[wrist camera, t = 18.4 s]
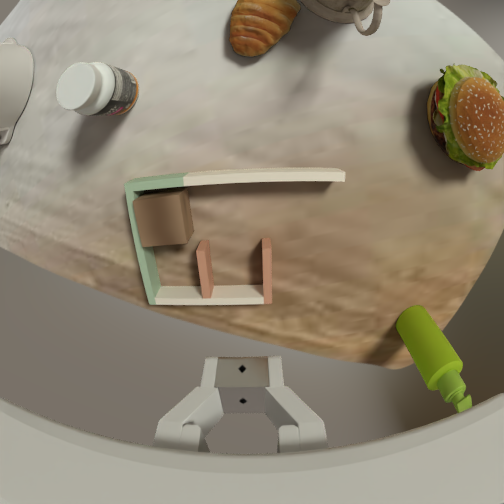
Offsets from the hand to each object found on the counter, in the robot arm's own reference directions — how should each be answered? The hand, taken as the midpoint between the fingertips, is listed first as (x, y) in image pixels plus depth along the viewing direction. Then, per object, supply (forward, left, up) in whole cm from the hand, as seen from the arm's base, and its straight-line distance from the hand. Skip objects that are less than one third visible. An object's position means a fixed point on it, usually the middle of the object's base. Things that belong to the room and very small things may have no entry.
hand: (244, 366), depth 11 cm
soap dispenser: (+25, -19, -24) cm, 40 cm away
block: (-10, 0, -24) cm, 26 cm away
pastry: (+2, +22, -25) cm, 33 cm away
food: (+28, +13, -24) cm, 39 cm away
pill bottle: (-15, +15, -24) cm, 32 cm away
